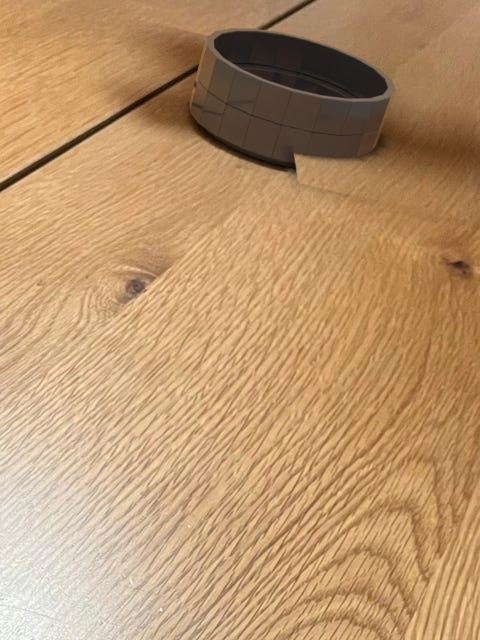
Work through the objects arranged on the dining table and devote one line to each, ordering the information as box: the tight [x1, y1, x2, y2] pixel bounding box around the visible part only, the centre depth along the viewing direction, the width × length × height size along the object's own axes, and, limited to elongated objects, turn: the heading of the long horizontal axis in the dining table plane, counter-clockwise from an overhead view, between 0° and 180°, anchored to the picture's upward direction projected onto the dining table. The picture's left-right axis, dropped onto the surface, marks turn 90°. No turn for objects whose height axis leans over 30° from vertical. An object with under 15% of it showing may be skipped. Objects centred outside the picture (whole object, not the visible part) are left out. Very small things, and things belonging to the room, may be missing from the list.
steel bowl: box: [189, 27, 397, 169], centre depth 94 cm, size 14×14×5 cm
